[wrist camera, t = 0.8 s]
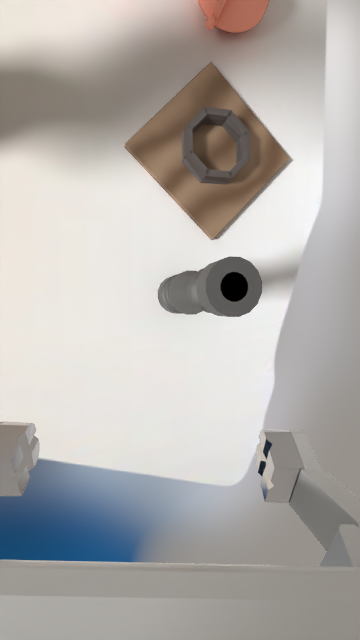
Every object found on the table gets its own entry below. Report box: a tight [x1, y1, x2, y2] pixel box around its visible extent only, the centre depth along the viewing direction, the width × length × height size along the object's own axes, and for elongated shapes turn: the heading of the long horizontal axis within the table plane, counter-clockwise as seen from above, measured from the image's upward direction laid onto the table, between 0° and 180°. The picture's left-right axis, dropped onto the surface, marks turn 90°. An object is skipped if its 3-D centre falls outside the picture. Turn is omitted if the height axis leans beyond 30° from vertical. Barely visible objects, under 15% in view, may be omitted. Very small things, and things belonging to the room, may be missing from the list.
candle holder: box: [158, 257, 262, 317], centre depth 43 cm, size 6×6×25 cm
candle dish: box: [125, 63, 290, 240], centre depth 54 cm, size 20×20×4 cm
